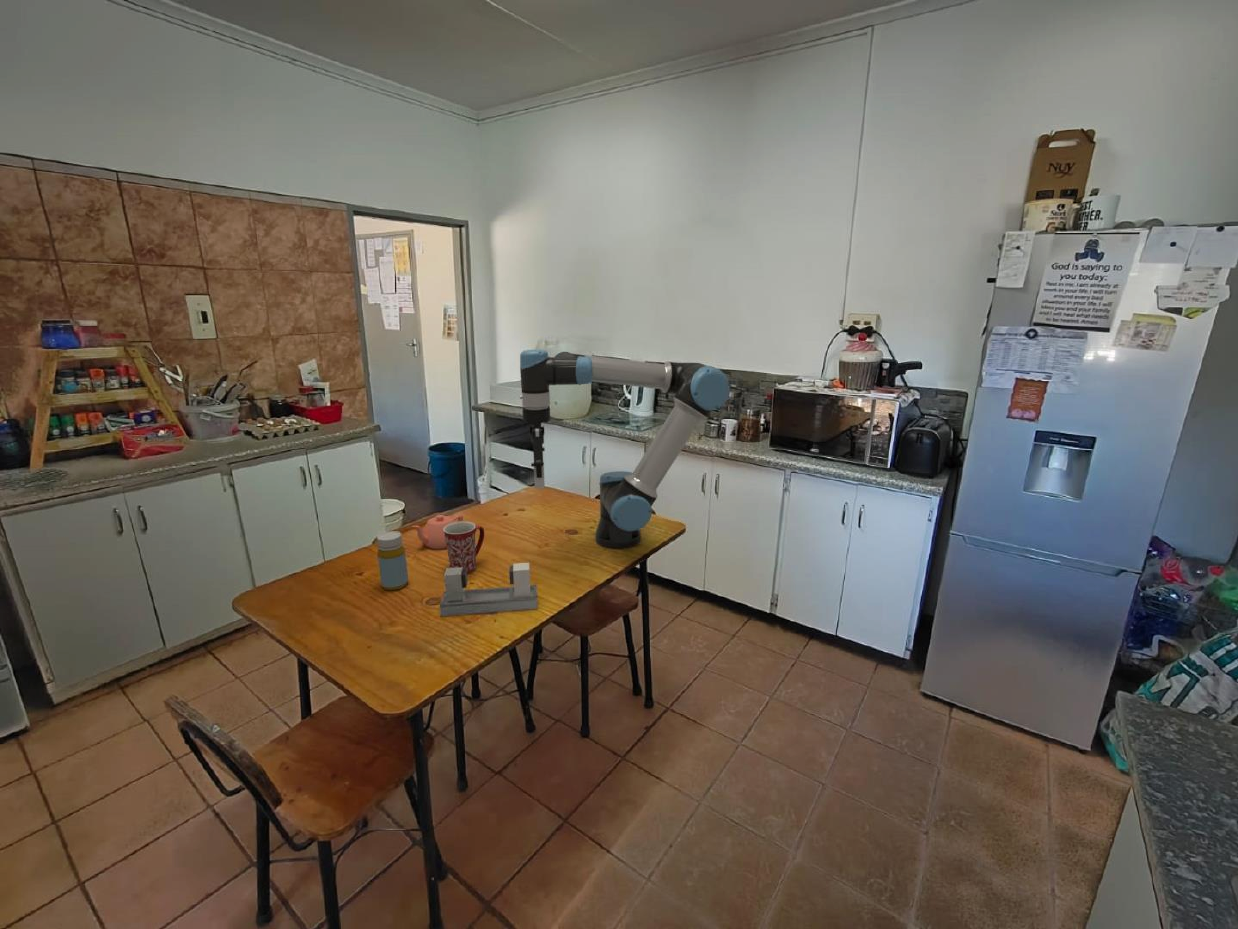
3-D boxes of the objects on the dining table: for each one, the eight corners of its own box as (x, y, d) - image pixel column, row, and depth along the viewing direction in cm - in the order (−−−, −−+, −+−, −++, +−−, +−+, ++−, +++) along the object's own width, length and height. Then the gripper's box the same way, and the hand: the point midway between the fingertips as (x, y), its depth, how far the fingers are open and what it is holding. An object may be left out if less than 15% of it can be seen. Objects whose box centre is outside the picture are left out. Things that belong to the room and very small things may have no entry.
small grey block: (530, 590, 147) (529, 562, 145) (530, 597, 144) (529, 569, 141) (511, 591, 147) (509, 564, 144) (510, 599, 143) (509, 571, 141)
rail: (536, 595, 150) (535, 559, 147) (537, 608, 143) (535, 571, 140) (444, 602, 146) (441, 566, 143) (440, 616, 140) (436, 578, 137)
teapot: (474, 540, 185) (472, 513, 182) (424, 558, 172) (421, 529, 169) (453, 530, 192) (451, 504, 190) (405, 547, 179) (401, 519, 177)
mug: (459, 580, 158) (455, 536, 154) (441, 570, 164) (436, 527, 160) (495, 564, 167) (492, 522, 164) (476, 555, 173) (473, 515, 169)
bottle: (414, 581, 157) (408, 532, 153) (397, 593, 151) (390, 542, 147) (394, 577, 159) (387, 529, 155) (376, 589, 153) (369, 539, 149)
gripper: (522, 399, 164) (526, 468, 170) (521, 416, 141) (525, 495, 147) (548, 399, 165) (551, 467, 172) (551, 415, 142) (554, 494, 148)
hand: (539, 480), depth 159 cm, fingers open, 13 cm apart
